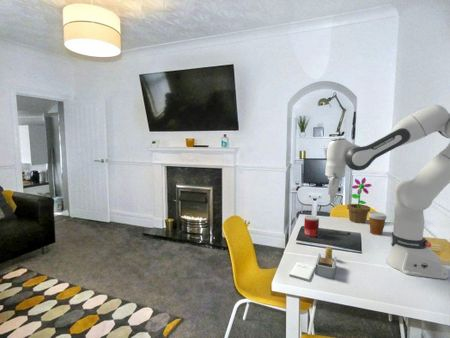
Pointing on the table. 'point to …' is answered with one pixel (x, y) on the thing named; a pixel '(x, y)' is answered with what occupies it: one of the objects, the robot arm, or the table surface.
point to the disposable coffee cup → (377, 222)
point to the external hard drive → (302, 271)
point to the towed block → (327, 258)
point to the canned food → (311, 226)
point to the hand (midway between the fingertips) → (332, 200)
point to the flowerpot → (358, 210)
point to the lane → (325, 269)
